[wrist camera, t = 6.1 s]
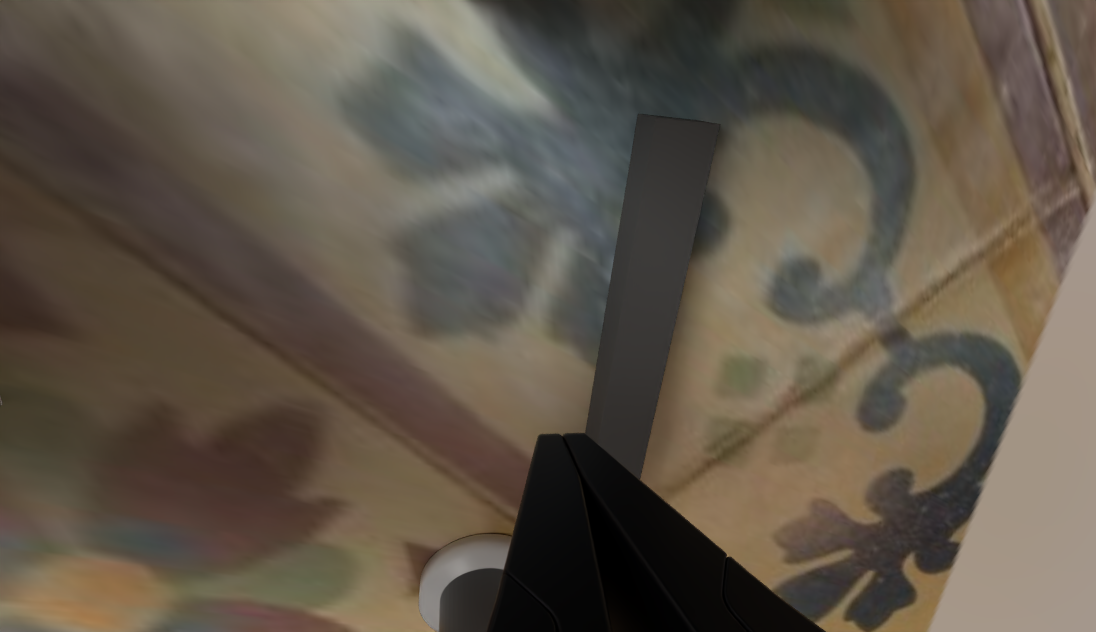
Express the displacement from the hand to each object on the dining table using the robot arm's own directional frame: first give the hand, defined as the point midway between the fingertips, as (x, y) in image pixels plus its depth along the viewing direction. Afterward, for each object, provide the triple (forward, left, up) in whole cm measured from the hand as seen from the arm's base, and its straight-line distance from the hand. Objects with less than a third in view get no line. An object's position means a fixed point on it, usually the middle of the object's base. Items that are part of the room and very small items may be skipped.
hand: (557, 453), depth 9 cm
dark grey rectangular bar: (-1, -3, -6) cm, 7 cm away
